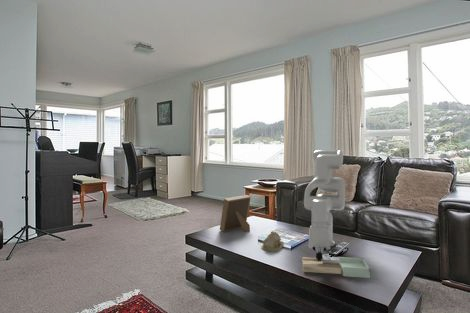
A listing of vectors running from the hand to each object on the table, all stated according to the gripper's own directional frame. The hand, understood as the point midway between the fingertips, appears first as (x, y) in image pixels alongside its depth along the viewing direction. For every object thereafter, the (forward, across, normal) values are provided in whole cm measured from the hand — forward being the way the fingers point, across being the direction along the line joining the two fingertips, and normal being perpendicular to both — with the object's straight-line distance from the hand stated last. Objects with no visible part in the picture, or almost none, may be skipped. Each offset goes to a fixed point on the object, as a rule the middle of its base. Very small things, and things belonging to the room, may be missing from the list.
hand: (319, 259), depth 140 cm
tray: (+5, -16, 0) cm, 17 cm away
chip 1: (+2, -4, 0) cm, 4 cm away
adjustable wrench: (+5, -10, -20) cm, 23 cm away
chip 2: (+2, -8, 0) cm, 8 cm away
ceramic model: (+5, +25, -26) cm, 36 cm away
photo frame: (+5, +52, -56) cm, 77 cm away
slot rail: (+5, -1, 0) cm, 5 cm away
